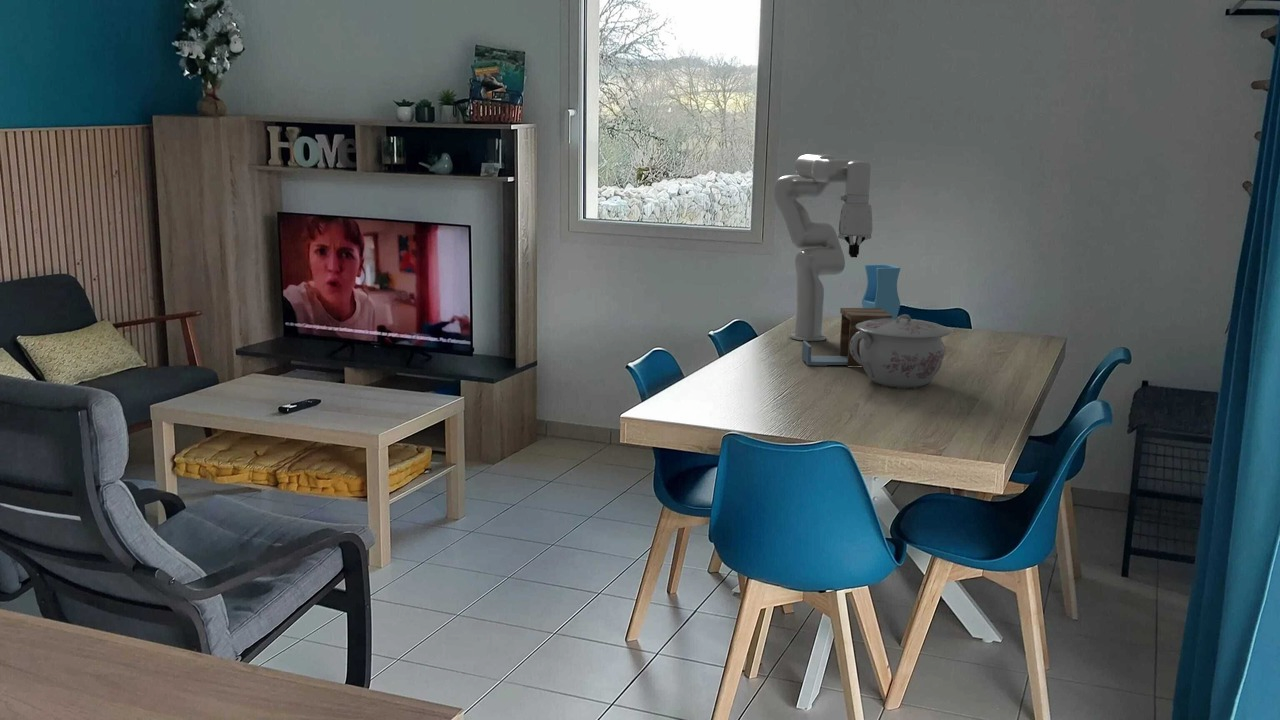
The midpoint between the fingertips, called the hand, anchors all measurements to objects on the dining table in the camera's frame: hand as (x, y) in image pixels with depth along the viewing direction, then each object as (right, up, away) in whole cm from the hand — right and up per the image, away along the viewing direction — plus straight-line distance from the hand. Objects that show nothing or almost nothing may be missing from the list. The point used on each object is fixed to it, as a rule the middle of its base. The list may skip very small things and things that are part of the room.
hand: (853, 256), depth 371 cm
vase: (+16, -25, +39) cm, 49 cm away
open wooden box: (+1, -35, -8) cm, 35 cm away
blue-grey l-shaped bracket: (-6, -34, -8) cm, 36 cm away
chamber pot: (+7, -41, -34) cm, 53 cm away
